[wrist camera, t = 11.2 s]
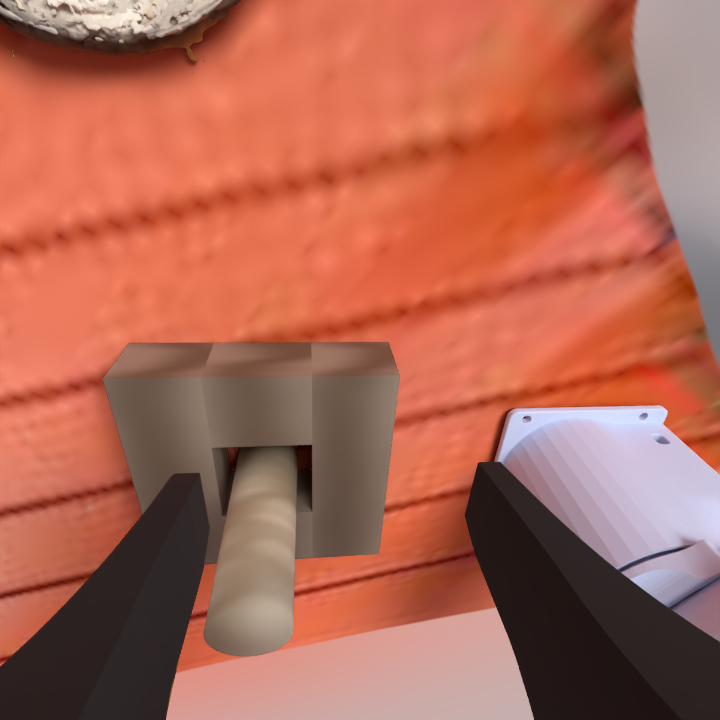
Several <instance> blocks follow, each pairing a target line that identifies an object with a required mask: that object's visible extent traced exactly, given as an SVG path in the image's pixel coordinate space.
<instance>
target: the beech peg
mask: <svg viewBox="0 0 720 720" xmlns="http://www.w3.org/2000/svg"><path fill="white" fill-rule="evenodd" d="M297 464H298V445H288V446H254V447H240V450H239V455H238V460H237V465H236V470H235V475H234V480H233V485H232V491H231V496H230V501H229V506H228V511H227V516H226V521H225V526H224V531H223V537H222V542H221V547H220V552H219V557H218V562H217V567H216V572H215V577H214V582H213V588H212V593H211V598H210V603H209V608H208V613H207V618H206V623H205V628H204V639H205V641H206V642H207V644H208V645H209V646H210V647H212V648H213V649H215V650H216V651H219V652H221V653H224V654H228V655H233V656H258V655H263V654H267V653H270V652H273V651H275V650H277V649H279V648H281V647H283V646H284V645H285V644H286V643H287V642H288V641H289V640H290V639H291V637H292V634H293V613H294V575H295V538H296V501H297Z"/></svg>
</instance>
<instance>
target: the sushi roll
mask: <svg viewBox="0 0 720 720" xmlns="http://www.w3.org/2000/svg"><path fill="white" fill-rule="evenodd" d="M239 1H241V0H0V23H1V24H3V25H5V26H7V27H8V28H10V29H11V30H13V31H15V32H17V33H19V34H21V35H23V36H25V37H28V38H30V39H32V40H35V41H38V42H41V43H44V44H46V45H49V46H54V47H58V48H63V49H69V50H74V51H80V52H86V53H93V54H102V55H142V54H147V53H150V52H153V51H157V50H160V49H165V48H175V47H177V48H180V47H182V48H185V49H186V52H187V54H188V57H189V59H190V60H192V61H193V62H195V63H196V62H198V58H197V57H196V56H195V55H194V54H193V51H192V50H191V48H190V46H191V45H192V44H193V43H198V42H200V41H202V39H203V32H204V31H205V30H207V29H209V28H210V27H212V26H213V25H216V23H217V21H218V20H221V19H224V18H226V16H227V13H228V10H229V9H230V8H231V7H232V6H234V5H236V4H237V3H238V2H239ZM11 52H12V56H13V58H14V56H15V54H14V51H11ZM18 56H20V55H18ZM203 61H204V60H203ZM192 73H193V72H192Z"/></svg>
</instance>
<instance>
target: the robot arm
mask: <svg viewBox="0 0 720 720" xmlns="http://www.w3.org/2000/svg"><path fill="white" fill-rule="evenodd" d="M667 413H668V412H667V410H666V409H665V408H664V407H662V406H659V405H656V406H609V407H562V408H517V409H513V410H511V411H510V412H509V413H508V415H507V417H506V421H505V425H504V428H503V432H502V435H501V439H500V442H499V446H498V450H497V453H496V457H495V460H494V462H479V463H478V465H477V469H476V473H475V477H474V481H473V485H472V489H471V493H470V497H469V501H468V505H467V509H466V513H465V517H466V521H467V525H468V529H469V533H470V537H471V541H472V544H473V548H474V551H475V554H476V557H477V559H478V562H479V565H480V567H481V570H482V572H483V575H484V577H485V580H486V582H487V585H488V587H489V590H490V592H491V595H492V597H493V600H494V602H495V605H496V607H497V610H498V612H499V615H500V617H501V620H502V622H503V625H504V627H505V630H506V632H507V635H508V637H509V640H510V643H511V645H512V648H513V651H514V654H515V657H516V660H517V663H518V666H519V670H520V673H521V676H522V679H523V683H524V686H525V689H526V692H527V696H528V699H529V703H530V706H531V710H532V713H533V717H534V720H720V475H719V474H718V473H717V472H716V471H714V470H713V469H712V468H711V467H710V466H709V465H708V464H707V463H706V462H704V461H703V460H702V459H701V458H700V457H699V456H698V455H697V454H696V453H694V452H693V451H692V450H691V449H690V448H689V447H688V446H687V445H686V444H684V443H683V442H682V441H681V440H680V439H679V438H678V437H677V436H675V435H674V434H673V433H672V432H671V431H670V430H669V429H668V428H667V427H665V426H664V425H663V422H664V420H665V418H666V416H667ZM525 416H527V417H526V418H524V419H523V417H525ZM209 530H210V526H209V521H208V515H207V510H206V504H205V499H204V493H203V488H202V482H201V477H200V473H176V474H173V475H172V476H171V477H170V478H169V480H168V481H167V482H166V484H165V485H164V487H163V488H162V489H161V491H160V492H159V493H158V495H157V496H156V497H155V499H154V500H153V501H152V503H151V504H150V505H149V507H148V508H147V509H146V511H145V512H144V513H143V514H142V516H141V517H140V518H139V520H138V521H137V522H136V523H135V525H134V526H133V527H132V528H131V530H130V531H129V532H128V533H127V534H126V536H125V537H124V538H123V539H122V541H121V542H120V543H119V544H118V545H117V547H116V548H115V549H114V550H113V552H112V553H111V554H110V555H109V556H108V557H107V559H106V560H105V561H104V562H103V563H102V564H101V565H100V566H99V568H98V569H97V570H96V571H95V572H94V573H93V574H92V575H91V577H90V578H89V579H88V580H87V581H86V582H85V583H84V584H83V586H82V587H81V588H80V589H79V590H78V591H77V592H76V593H75V594H74V595H73V596H72V597H71V598H70V599H69V600H68V602H67V603H66V604H65V605H64V606H63V607H62V608H61V609H60V610H59V611H58V612H57V613H56V614H55V615H54V616H53V617H52V618H51V619H50V620H49V621H48V622H47V623H46V624H45V625H44V626H43V627H42V628H41V629H40V630H39V631H38V632H37V633H36V634H35V635H34V636H33V637H32V638H31V639H29V640H28V641H27V642H26V643H25V644H24V645H23V646H22V647H21V648H20V649H19V650H18V651H17V652H16V653H14V654H13V655H12V656H11V657H10V658H9V659H8V660H7V661H6V662H5V663H4V664H3V665H2V666H1V667H0V720H166V715H167V710H168V704H169V699H170V694H171V689H172V685H173V680H174V676H175V672H176V668H177V664H178V660H179V657H180V653H181V649H182V646H183V642H184V638H185V635H186V631H187V628H188V624H189V620H190V617H191V613H192V609H193V606H194V602H195V598H196V595H197V591H198V587H199V584H200V580H201V576H202V572H203V568H204V562H205V556H206V550H207V543H208V537H209Z"/></svg>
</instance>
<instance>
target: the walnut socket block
mask: <svg viewBox="0 0 720 720" xmlns="http://www.w3.org/2000/svg"><path fill="white" fill-rule="evenodd" d="M399 378H400V374H399V371H398V368H397V365H396V363H395V360H394V357H393V354H392V351H391V348H390V345H389V342H347V343H129V344H128V346H127V347H126V348H125V350H124V351H123V352H122V354H121V355H120V356H119V358H118V359H117V360H116V362H115V363H114V364H113V366H112V367H111V368H110V370H109V371H108V372H107V374H106V375H105V376H104V378H103V381H104V385H105V388H106V392H107V395H108V399H109V402H110V405H111V409H112V412H113V416H114V419H115V423H116V426H117V429H118V433H119V436H120V440H121V443H122V447H123V450H124V453H125V457H126V460H127V464H128V467H129V471H130V474H131V477H132V481H133V484H134V488H135V491H136V495H137V498H138V501H139V505H140V508H141V512H142V514H143V513H144V512H145V511H146V509H147V508H148V507H149V505H150V504H151V503H152V501H153V500H154V499H155V497H156V496H157V495H158V493H159V492H160V491H161V489H162V488H163V487H164V485H165V484H166V482H167V481H168V480H169V478H170V477H171V476H172V475H173V474H176V473H200V477H201V482H202V488H203V493H204V499H205V504H206V510H207V515H208V521H209V526H210V530H209V537H208V543H207V550H206V556H205V562H204V564H217V562H218V557H219V552H220V547H221V542H222V537H223V531H224V526H225V521H226V516H227V511H228V506H229V501H230V496H231V491H232V485H233V480H234V475H235V472H234V473H231V466H230V459H229V451H228V447H254V446H288V445H312V470H297V501H296V538H295V559H304V558H320V557H337V556H354V555H370V554H379V550H380V542H381V533H382V524H383V516H384V507H385V499H386V490H387V481H388V473H389V464H390V456H391V447H392V438H393V430H394V421H395V413H396V404H397V395H398V387H399Z"/></svg>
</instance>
